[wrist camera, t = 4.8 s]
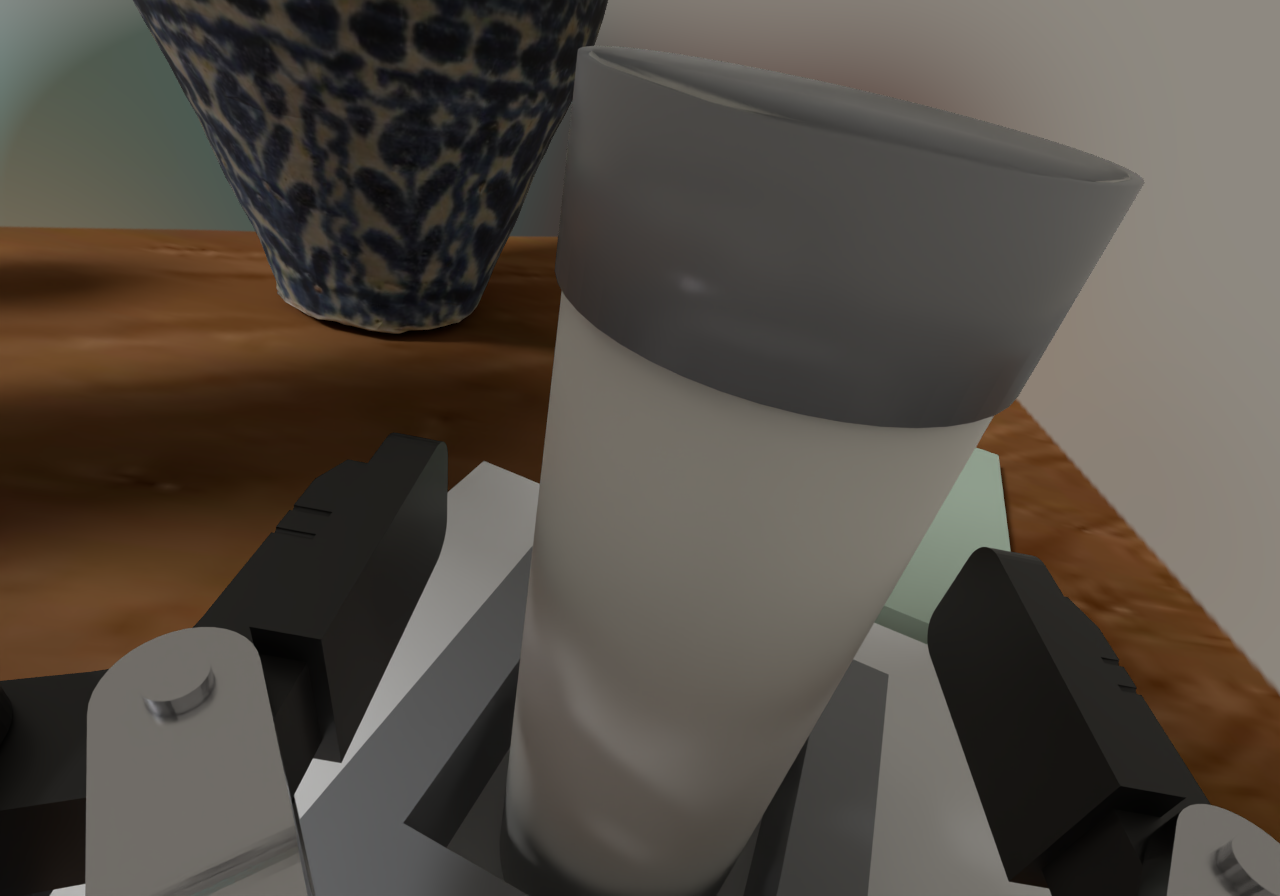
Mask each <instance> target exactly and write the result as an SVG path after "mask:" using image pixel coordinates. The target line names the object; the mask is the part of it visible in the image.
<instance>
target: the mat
mask: <svg viewBox="0 0 1280 896" xmlns="http://www.w3.org/2000/svg"><path fill="white" fill-rule="evenodd" d="M981 547H989V548H994V549H999V550H1004V551H1010V552H1011V550H1010V542H1009V534H1008V527H1007V519H1006V511H1005V503H1004V495H1003V487H1002V480H1001V472H1000V464H999V456H998V455H996V454H993V453H990V452H987V451H984V450H982V449H979V448H976V447H975V449H974V451H973V453H972V454H971V456H970V458H969V460H968V461H967V463H966V465H965V467H964V468H963V470H962V472H961V473H960V475H959V477H958V479H957V480H956V482H955V484H954V486H953V487H952V489H951V491H950V492H949V494H948V496H947V498H946V499H945V501H944V503H943V505H942V506H941V508H940V510H939V511H938V513H937V515H936V517H935V518H934V520H933V522H932V524H931V525H930V527H929V529H928V530H927V532H926V534H925V536H924V537H923V539H922V541H921V543H920V544H919V546H918V548H917V550H916V551H915V553H914V555H913V556H912V558H911V560H910V562H909V563H908V565H907V567H906V569H905V570H904V572H903V574H902V575H901V577H900V579H899V581H898V582H897V584H896V586H895V588H894V589H893V591H892V593H891V594H890V596H889V598H888V600H887V601H886V603H885V605H884V607H883V608H882V610H881V612H880V614H879V615H878V617H877V619H876V620H875V622H874V623H876V624H879V625H881V626H884V627H886V628H888V629H891V630H893V631H896V632H898V633H901V634H903V635H905V636H908V637H910V638H913V639H915V640H917V641H920V642H922V643H925V644H927V645H928V643H927V634H928V626H929V622H930V619H931V616H932V614H933V612H934V610H935V609H936V607H937V606H938V604H939V603H940V601H941V600H942V598H943V597H944V595H945V594H946V592H947V590H948V589H949V587H950V586H951V584H952V583H953V581H954V580H955V578H956V577H957V575H958V574H959V572H960V571H961V569H962V567H963V566H964V564H965V563H966V561H967V560H968V558H969V557H970V555H971V554H972V553H973V552H974V551H975V550H977V549H978V548H981Z"/></svg>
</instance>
